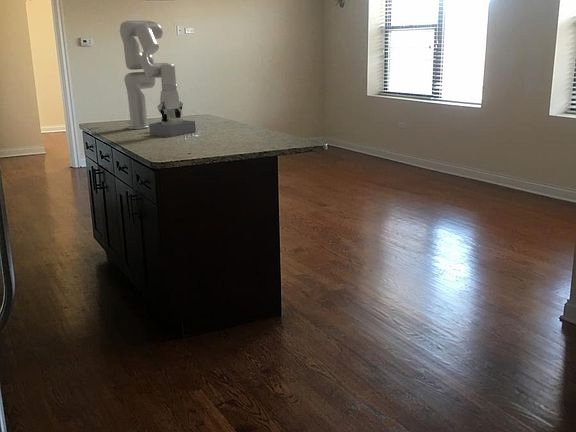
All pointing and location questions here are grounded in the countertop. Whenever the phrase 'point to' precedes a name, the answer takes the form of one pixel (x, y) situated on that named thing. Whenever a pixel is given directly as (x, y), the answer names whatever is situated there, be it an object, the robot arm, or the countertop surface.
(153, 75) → the robot arm
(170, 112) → the coffee can
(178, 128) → the charcoal crate
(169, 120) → the sage crate
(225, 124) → the countertop surface
